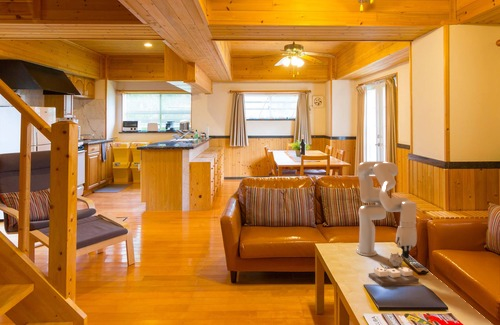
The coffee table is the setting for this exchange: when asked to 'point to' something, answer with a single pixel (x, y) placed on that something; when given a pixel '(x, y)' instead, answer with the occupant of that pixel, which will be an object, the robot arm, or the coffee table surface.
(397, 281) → the brown board
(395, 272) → the single pip block
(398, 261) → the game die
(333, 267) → the coffee table surface
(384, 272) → the three dot tile
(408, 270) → the two pip cube
